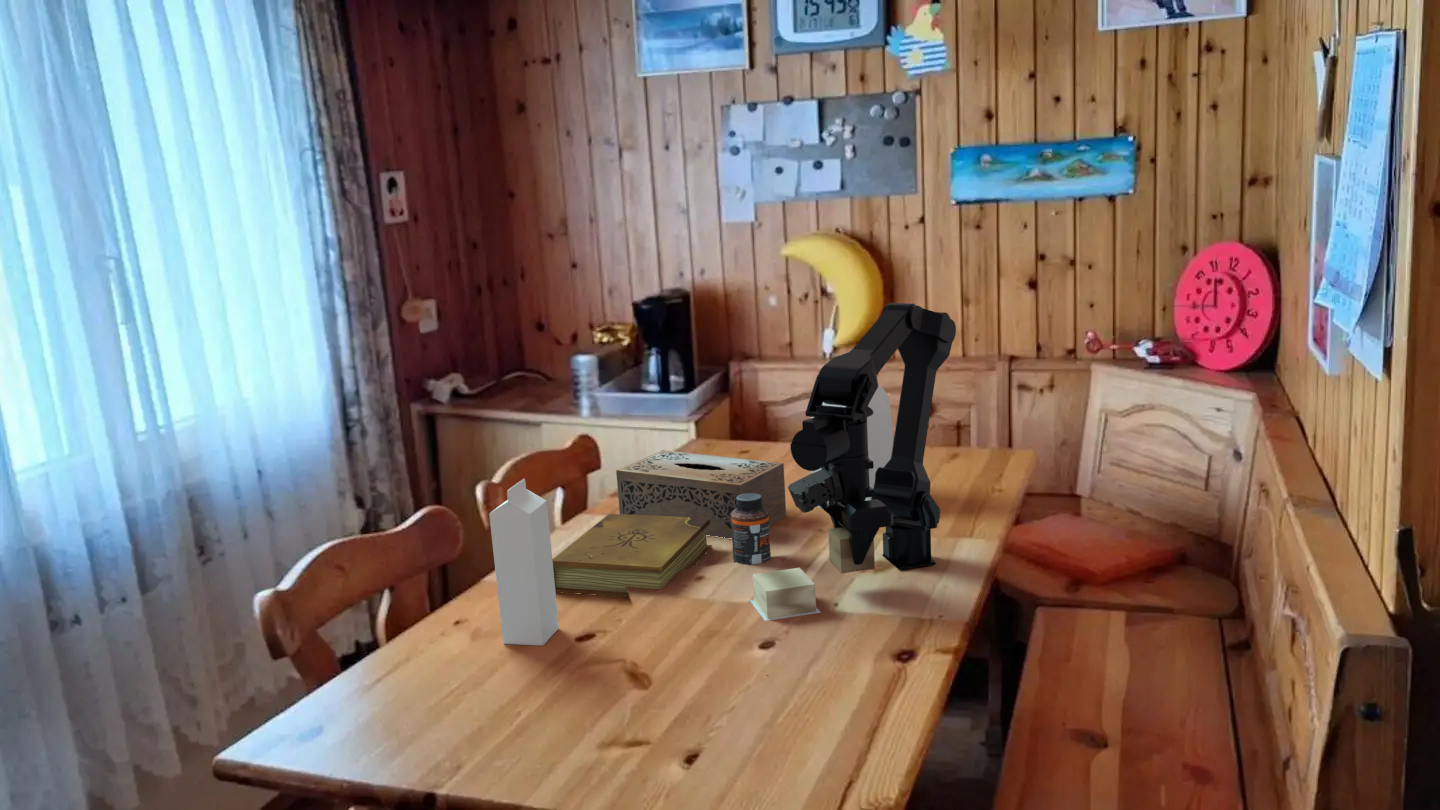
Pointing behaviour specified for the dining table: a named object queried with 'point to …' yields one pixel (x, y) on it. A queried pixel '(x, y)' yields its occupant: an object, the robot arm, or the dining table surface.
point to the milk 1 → (524, 568)
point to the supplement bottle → (750, 530)
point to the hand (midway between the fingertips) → (851, 558)
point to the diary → (630, 554)
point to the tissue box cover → (699, 487)
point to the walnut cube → (847, 552)
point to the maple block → (784, 593)
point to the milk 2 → (877, 433)
